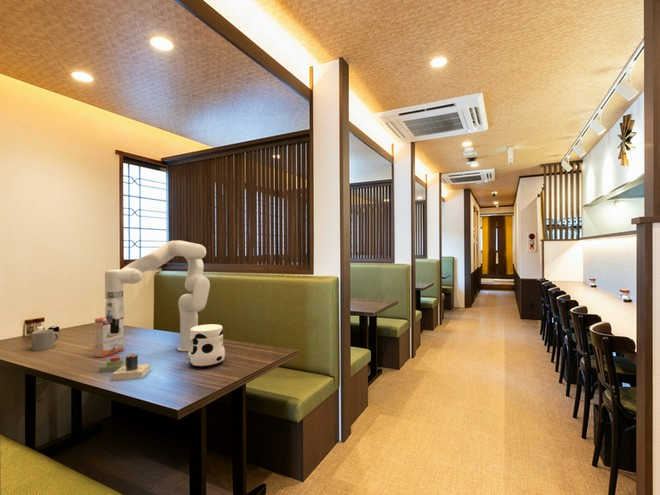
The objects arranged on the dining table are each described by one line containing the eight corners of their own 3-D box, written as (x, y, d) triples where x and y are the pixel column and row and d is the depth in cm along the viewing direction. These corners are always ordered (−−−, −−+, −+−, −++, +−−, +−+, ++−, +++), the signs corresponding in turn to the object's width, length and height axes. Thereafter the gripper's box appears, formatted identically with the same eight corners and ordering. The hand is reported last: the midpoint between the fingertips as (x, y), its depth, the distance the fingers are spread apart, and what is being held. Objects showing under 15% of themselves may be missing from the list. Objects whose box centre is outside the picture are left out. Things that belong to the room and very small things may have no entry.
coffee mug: (35, 351, 193) (35, 334, 194) (28, 349, 199) (28, 332, 199) (63, 345, 205) (63, 329, 205) (56, 343, 210) (56, 327, 210)
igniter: (129, 364, 168) (129, 356, 168) (122, 370, 160) (122, 362, 160) (107, 366, 167) (107, 358, 167) (99, 372, 159) (99, 363, 159)
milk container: (231, 359, 174) (231, 324, 174) (212, 371, 157) (212, 332, 158) (201, 357, 178) (201, 323, 178) (180, 368, 161) (179, 331, 162)
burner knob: (128, 367, 156) (128, 353, 156) (139, 366, 157) (139, 352, 157) (123, 370, 151) (123, 356, 151) (135, 370, 152) (135, 356, 152)
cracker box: (103, 357, 180) (103, 318, 180) (94, 357, 181) (93, 318, 182) (124, 350, 194) (124, 313, 194) (115, 349, 195) (115, 313, 195)
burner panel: (150, 370, 160) (149, 363, 160) (142, 378, 150) (141, 371, 150) (122, 372, 158) (122, 365, 158) (112, 380, 148) (112, 373, 148)
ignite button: (120, 359, 166) (120, 355, 166) (117, 361, 162) (117, 358, 162) (112, 359, 165) (112, 356, 165) (109, 362, 161) (109, 358, 161)
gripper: (115, 297, 157) (116, 336, 157) (129, 293, 172) (129, 329, 172) (98, 297, 156) (98, 337, 156) (112, 293, 170) (113, 330, 170)
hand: (114, 333), depth 164 cm, fingers closed
